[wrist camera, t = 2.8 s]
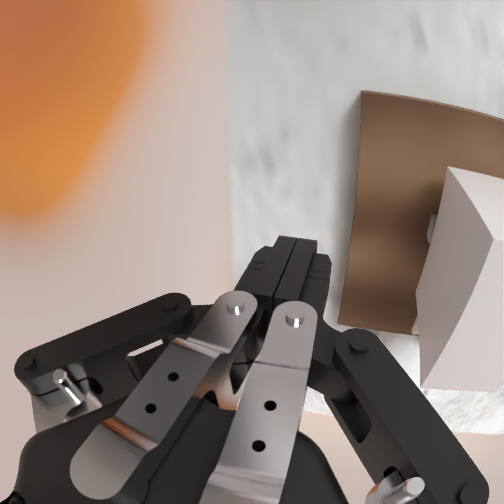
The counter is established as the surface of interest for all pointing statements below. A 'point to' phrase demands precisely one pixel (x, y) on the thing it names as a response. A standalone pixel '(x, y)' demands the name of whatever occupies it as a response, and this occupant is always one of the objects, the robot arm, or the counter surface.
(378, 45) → the counter surface
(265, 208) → the counter surface
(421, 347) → the block
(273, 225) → the counter surface
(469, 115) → the base
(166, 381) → the robot arm
